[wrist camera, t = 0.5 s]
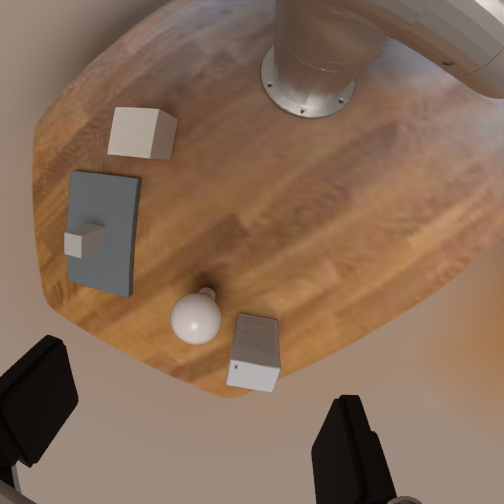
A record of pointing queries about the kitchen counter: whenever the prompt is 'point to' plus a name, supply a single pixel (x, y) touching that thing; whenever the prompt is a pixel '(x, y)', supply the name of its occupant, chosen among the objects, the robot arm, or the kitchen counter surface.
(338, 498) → the robot arm
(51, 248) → the kitchen counter surface
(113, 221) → the post board
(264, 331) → the skincare box
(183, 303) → the lightbulb
